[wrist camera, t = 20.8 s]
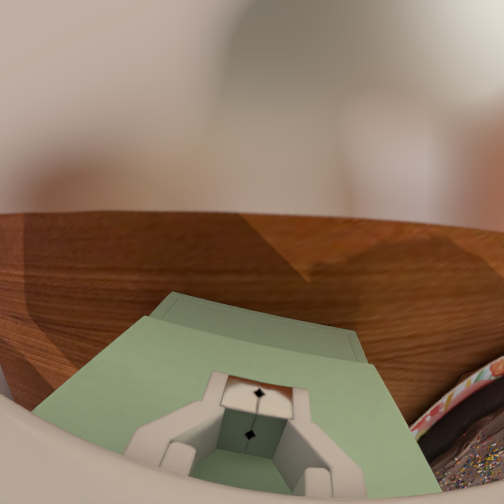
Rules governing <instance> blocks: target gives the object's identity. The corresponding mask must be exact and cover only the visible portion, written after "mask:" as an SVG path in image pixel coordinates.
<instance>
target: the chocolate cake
mask: <svg viewBox="0 0 504 504" xmlns="http://www.w3.org/2000/svg"><path fill="white" fill-rule="evenodd" d="M408 427H409V429H410V430H411V432H412V434H413V436H414V438H415V440H416V442H417V443H418V445H419V447H420V449H421V451H422V453H423V455H424V457H425V459H426V460H427V462H428V464H429V466H430V468H431V470H432V472H433V474H434V476H435V478H436V480H437V482H438V484H439V486H440V488H441V490H442V492H445V491H452V490H458V489H463V488H468V487H473V486H478V485H482V484H487V483H491V482H495V481H499V480H503V479H504V356H501V357H499V358H497V359H495V360H493V361H491V362H489V363H488V364H487V365H485V366H483V367H482V368H480V369H477V370H475V371H472V372H469V373H465V374H462V375H461V377H460V379H459V380H458V382H457V383H456V385H455V386H454V387H453V388H452V389H451V390H450V391H448V392H447V393H445V394H444V395H443V397H442V398H441V399H440V400H439V401H437V402H436V403H433V404H432V406H431V407H430V408H429V409H428V410H427V411H426V412H425V413H424V414H423V415H421V416H420V417H419V418H418V420H417V421H416V422H415V423H412V424H410V425H408Z"/></svg>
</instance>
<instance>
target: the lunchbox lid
mask: <svg viewBox="0 0 504 504" xmlns="http://www.w3.org/2000/svg"><path fill="white" fill-rule="evenodd" d="M213 370H214V371H218V372H222V373H226V374H228V375H229V374H231V375H235V376H239V377H243V378H247V379H252V380H256V381H260V382H264V383H270V384H276V385H281V386H287V387H297V388H305V389H308V391H309V400H310V411H311V422H312V423H316V424H317V425H318V426H319V427H320V428H321V429H322V430H323V431H324V432H325V433H326V434H327V435H328V436H329V437H330V438H331V439H332V440H333V441H334V442H335V443H336V444H337V445H338V446H339V447H340V448H341V449H342V450H343V451H344V452H345V453H346V454H347V455H348V456H349V457H350V458H351V459H352V460H353V461H354V462H355V463H356V464H357V465H358V466H360V467H361V468H362V469H363V474H364V479H365V484H366V489H367V495H368V498H388V497H403V496H414V495H423V494H431V493H439V492H442V490H441V488H440V486H439V484H438V482H437V480H436V478H435V476H434V474H433V472H432V470H431V468H430V466H429V464H428V462H427V460H426V459H425V457H424V455H423V453H422V451H421V449H420V447H419V445H418V443H417V442H416V440H415V438H414V436H413V434H412V432H411V430H410V429H409V427H408V425H407V423H406V421H405V419H404V418H403V416H402V414H401V412H400V410H399V409H398V407H397V405H396V403H395V401H394V400H393V398H392V396H391V394H390V393H389V391H388V389H387V387H386V386H385V384H384V382H383V380H382V379H381V377H380V375H379V373H378V372H377V370H376V368H375V366H374V365H373V364H366V363H359V362H352V361H346V360H340V359H333V358H327V357H322V356H316V355H310V354H305V353H299V352H294V351H289V350H284V349H279V348H274V347H269V346H264V345H260V344H255V343H250V342H246V341H241V340H237V339H233V338H228V337H224V336H220V335H216V334H212V333H208V332H204V331H200V330H196V329H192V328H188V327H184V326H180V325H177V324H173V323H169V322H166V321H162V320H159V319H155V318H152V317H148V316H143V317H142V318H141V319H140V320H138V321H137V322H136V323H135V324H134V325H132V326H131V327H130V328H129V329H128V330H126V331H125V332H124V333H123V334H122V335H120V336H119V337H118V338H117V339H116V340H114V341H113V342H112V343H111V344H110V345H108V346H107V347H106V348H105V349H104V350H102V351H101V352H100V353H99V354H98V355H97V356H95V357H94V358H93V359H92V360H91V361H89V362H88V363H87V364H86V365H85V366H84V367H82V368H81V369H80V370H79V371H78V372H77V373H75V374H74V375H73V376H72V377H71V378H69V379H68V380H67V381H66V382H65V383H64V384H62V385H61V386H60V387H59V388H58V389H57V390H55V391H54V392H53V393H52V394H51V395H50V396H49V397H47V398H46V399H45V400H44V401H43V402H42V403H40V404H39V405H38V406H37V407H36V408H35V409H34V410H32V411H31V412H32V413H34V414H35V415H37V416H39V417H41V418H43V419H44V420H46V421H48V422H50V423H52V424H54V425H56V426H58V427H60V428H62V429H64V430H66V431H68V432H70V433H72V434H74V435H76V436H78V437H80V438H83V439H85V440H87V441H89V442H91V443H94V444H96V445H98V446H101V447H103V448H106V449H108V450H110V451H113V452H116V453H118V454H121V455H122V453H123V451H124V450H125V448H126V446H127V444H128V443H129V441H130V439H131V437H132V435H133V434H134V432H135V430H136V428H137V427H140V426H142V425H144V424H147V423H149V422H151V421H153V420H155V419H158V418H160V417H162V416H164V415H166V414H168V413H171V412H173V411H175V410H177V409H179V408H181V407H183V406H185V405H187V404H189V403H191V402H193V401H195V400H197V401H201V399H202V396H203V394H204V391H205V388H206V386H207V383H208V380H209V377H210V375H211V372H212V371H213ZM192 477H193V478H197V479H201V480H205V481H209V482H214V483H218V484H223V485H228V486H233V487H238V488H244V489H250V490H256V491H263V492H270V493H278V494H286V495H291V494H292V492H291V491H290V489H289V488H288V486H287V484H286V483H285V481H284V480H283V478H282V476H281V475H280V473H279V471H278V470H277V468H276V467H275V465H274V463H273V462H272V459H268V458H263V457H258V456H253V455H248V454H245V453H244V454H243V453H237V452H231V451H226V450H221V449H216V450H215V451H214V452H213V453H212V454H210V455H209V456H208V457H206V458H205V459H204V460H203V461H201V462H200V463H199V464H197V465H196V466H195V467H193V474H192Z"/></svg>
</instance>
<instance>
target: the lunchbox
mask: <svg viewBox="0 0 504 504" xmlns="http://www.w3.org/2000/svg"><path fill="white" fill-rule="evenodd" d="M148 317H152V318H155V319H159V320H162V321H166V322H169V323H173V324H177V325H180V326H184V327H188V328H192V329H196V330H200V331H204V332H208V333H212V334H216V335H220V336H224V337H228V338H233V339H237V340H241V341H246V342H250V343H255V344H260V345H264V346H269V347H274V348H279V349H284V350H289V351H294V352H299V353H305V354H310V355H316V356H322V357H327V358H333V359H340V360H346V361H352V362H359V363H366V364H368V361H367V359H366V356H365V354H364V351H363V349H362V346H361V344H360V342H359V339H358V337H357V334H356V332H355V331H353V330H347V329H342V328H336V327H331V326H325V325H320V324H315V323H310V322H305V321H300V320H295V319H290V318H285V317H280V316H276V315H271V314H266V313H262V312H257V311H253V310H248V309H244V308H239V307H235V306H231V305H226V304H222V303H218V302H213V301H209V300H205V299H201V298H197V297H193V296H189V295H185V294H181V293H177V292H173V291H172V292H171V293H170V294H169V295H168V296H167V297H166V298H165V299H164V300H163V301H162V302H161V303H160V304H159V305H158V307H157V308H156V309H155V310H154V311H153V312H152V313H151V314H150V315H149V316H148Z"/></svg>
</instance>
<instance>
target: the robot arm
mask: <svg viewBox="0 0 504 504" xmlns="http://www.w3.org/2000/svg"><path fill="white" fill-rule="evenodd" d="M216 449H221V450H226V451H231V452H237V453H243V454H244V453H245V454H248V455H253V456H258V457H263V458H268V459H272V462H273V463H274V465H275V467H276V468H277V470H278V471H279V473H280V475H281V476H282V478H283V480H284V481H285V483H286V484H287V486H288V488H289V489H290V491H291V492H292V494H291V495H286V494H278V493H270V492H263V491H256V490H250V489H244V488H238V487H233V486H228V485H223V484H218V483H214V482H209V481H205V480H201V479H197V478H193V477H192V474H193V467H195V466H196V465H197V464H199V463H200V462H201V461H203V460H204V459H205V458H206V457H208V456H209V455H210V454H212V453H213V452H214V451H215V450H216ZM0 504H504V479H503V480H499V481H495V482H491V483H487V484H482V485H478V486H473V487H468V488H463V489H458V490H452V491H445V492H439V493H431V494H423V495H414V496H403V497H388V498H368V495H367V489H366V484H365V479H364V474H363V469H362V468H361V467H360V466H358V465H357V464H356V463H355V462H354V461H353V460H352V459H351V458H350V457H349V456H348V455H347V454H346V453H345V452H344V451H343V450H342V449H341V448H340V447H339V446H338V445H337V444H336V443H335V442H334V441H333V440H332V439H331V438H330V437H329V436H328V435H327V434H326V433H325V432H324V431H323V430H322V429H321V428H320V427H319V426H318V425H317V424H316V423H312V422H311V411H310V400H309V391H308V389H305V388H297V387H287V386H281V385H276V384H270V383H264V382H260V381H256V380H252V379H247V378H243V377H239V376H235V375H231V374H229V375H228V374H226V373H222V372H218V371H214V370H213V371H212V372H211V375H210V377H209V380H208V383H207V386H206V388H205V391H204V394H203V396H202V399H201V401H197V400H195V401H193V402H191V403H189V404H187V405H185V406H183V407H181V408H179V409H177V410H175V411H173V412H171V413H168V414H166V415H164V416H162V417H160V418H158V419H155V420H153V421H151V422H149V423H147V424H144V425H142V426H140V427H137V428H136V430H135V432H134V434H133V435H132V437H131V439H130V441H129V443H128V444H127V446H126V448H125V450H124V451H123V453H122V455H121V454H118V453H116V452H113V451H110V450H108V449H106V448H103V447H101V446H98V445H96V444H94V443H91V442H89V441H87V440H85V439H83V438H80V437H78V436H76V435H74V434H72V433H70V432H68V431H66V430H64V429H62V428H60V427H58V426H56V425H54V424H52V423H50V422H48V421H46V420H44V419H43V418H41V417H39V416H37V415H35V414H34V413H32V412H30V411H28V410H27V409H25V408H23V407H22V406H20V405H18V404H17V403H15V402H13V401H12V400H10V399H9V398H7V397H5V396H4V395H2V394H1V393H0Z"/></svg>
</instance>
